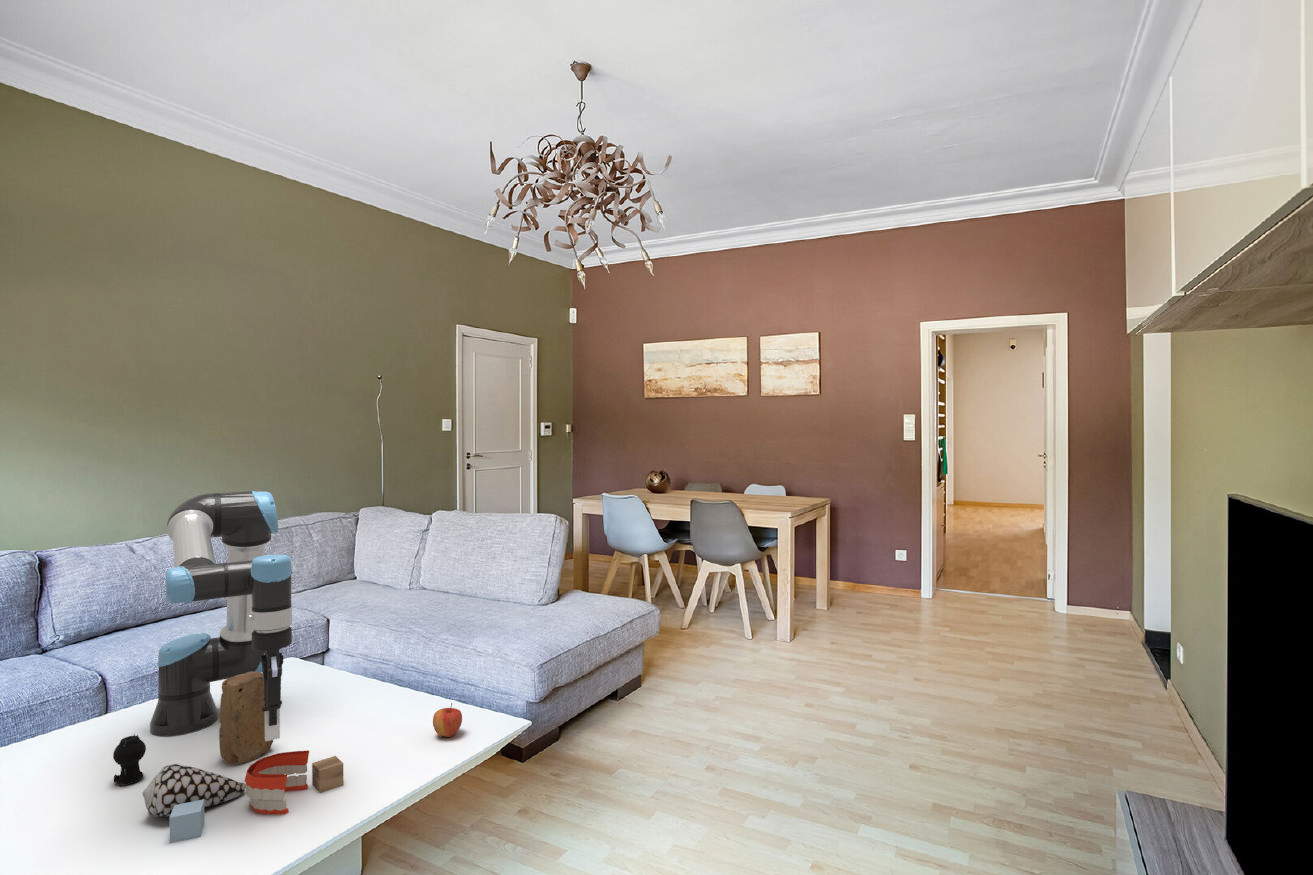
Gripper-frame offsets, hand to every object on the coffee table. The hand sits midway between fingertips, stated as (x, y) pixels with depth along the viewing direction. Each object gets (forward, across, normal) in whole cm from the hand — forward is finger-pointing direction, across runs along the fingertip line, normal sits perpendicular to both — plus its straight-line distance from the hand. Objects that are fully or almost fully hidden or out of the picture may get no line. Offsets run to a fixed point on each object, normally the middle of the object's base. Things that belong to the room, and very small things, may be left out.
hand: (272, 738), depth 147 cm
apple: (+14, -11, +41) cm, 45 cm away
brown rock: (+14, -27, -3) cm, 31 cm away
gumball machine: (+14, -28, -26) cm, 41 cm away
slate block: (+14, +4, -15) cm, 21 cm away
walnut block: (+14, -1, +11) cm, 18 cm away
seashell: (+14, -8, -14) cm, 21 cm away
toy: (+14, 0, 0) cm, 14 cm away
